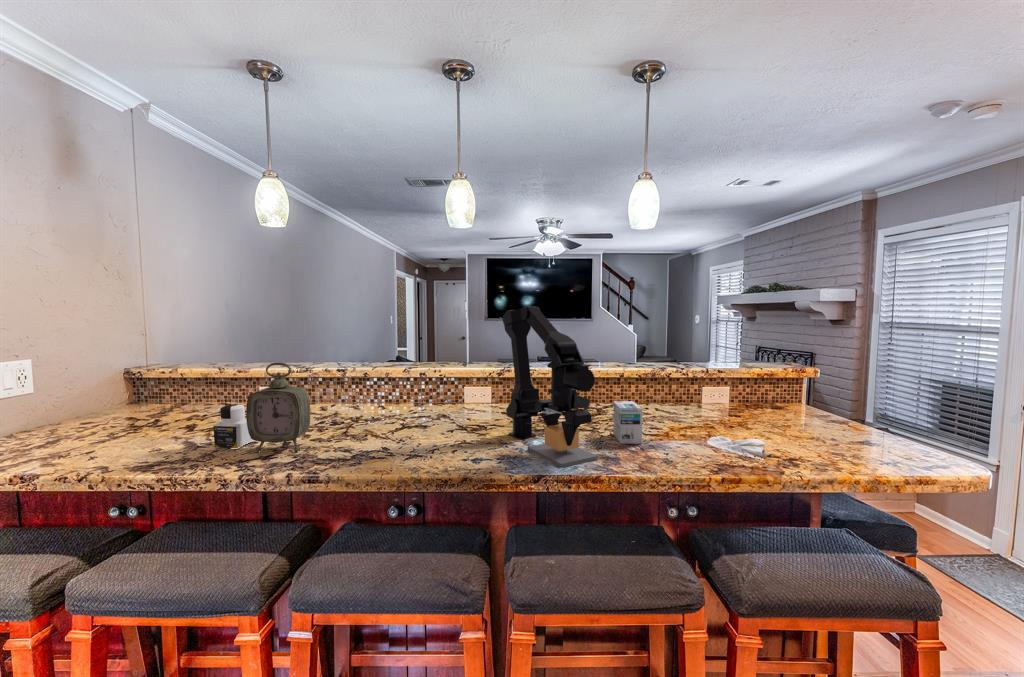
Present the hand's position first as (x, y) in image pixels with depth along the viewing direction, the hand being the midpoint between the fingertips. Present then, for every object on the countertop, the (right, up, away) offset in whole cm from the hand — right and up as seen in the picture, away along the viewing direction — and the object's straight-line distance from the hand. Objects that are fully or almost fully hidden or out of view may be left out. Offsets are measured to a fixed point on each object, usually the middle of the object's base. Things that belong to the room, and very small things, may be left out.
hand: (561, 442), depth 124 cm
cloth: (+53, -4, +6) cm, 54 cm away
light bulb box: (+22, -3, +15) cm, 26 cm away
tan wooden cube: (0, -1, 0) cm, 1 cm away
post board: (0, -4, 0) cm, 4 cm away
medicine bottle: (-95, -3, +9) cm, 95 cm away
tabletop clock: (-79, -4, +6) cm, 79 cm away
